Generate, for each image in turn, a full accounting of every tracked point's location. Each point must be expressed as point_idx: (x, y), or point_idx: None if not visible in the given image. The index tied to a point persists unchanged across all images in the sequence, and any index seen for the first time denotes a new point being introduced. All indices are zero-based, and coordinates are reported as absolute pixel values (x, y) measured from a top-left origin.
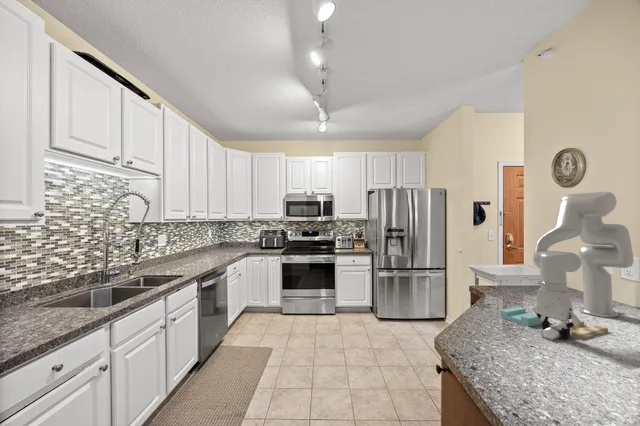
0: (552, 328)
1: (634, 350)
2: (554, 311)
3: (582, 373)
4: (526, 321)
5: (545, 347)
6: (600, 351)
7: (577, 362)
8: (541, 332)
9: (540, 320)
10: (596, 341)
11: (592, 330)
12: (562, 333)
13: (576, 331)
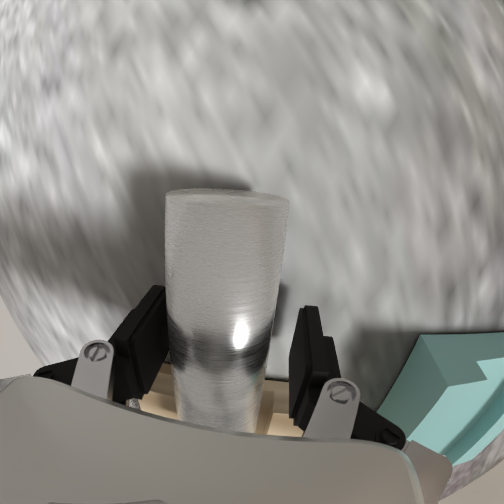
0: (198, 311)
1: None
2: (63, 499)
3: (12, 3)
4: (449, 365)
5: (182, 58)
6: (54, 301)
7: (27, 58)
8: (278, 204)
9: (353, 388)
10: (137, 404)
11: None
12: (143, 310)
13: None
